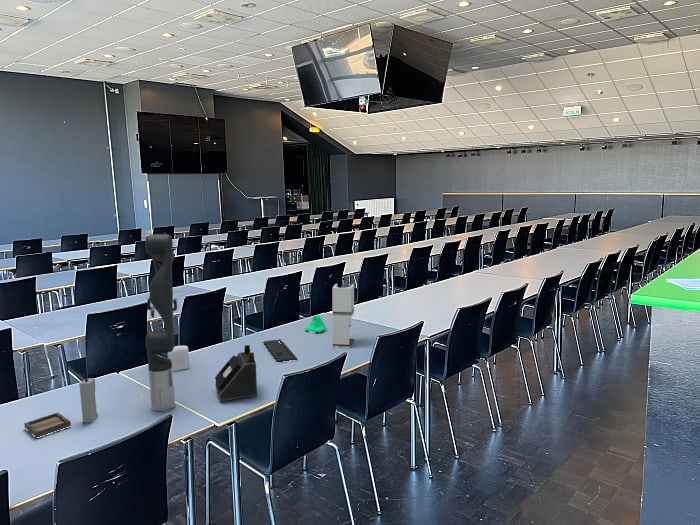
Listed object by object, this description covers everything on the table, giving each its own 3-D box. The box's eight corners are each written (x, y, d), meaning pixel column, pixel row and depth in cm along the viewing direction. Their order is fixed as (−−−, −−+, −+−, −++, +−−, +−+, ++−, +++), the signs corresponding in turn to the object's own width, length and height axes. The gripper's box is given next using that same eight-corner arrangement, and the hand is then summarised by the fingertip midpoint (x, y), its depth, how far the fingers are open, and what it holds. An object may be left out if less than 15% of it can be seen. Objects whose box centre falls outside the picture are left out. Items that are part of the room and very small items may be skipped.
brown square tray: (70, 427, 195) (70, 421, 195) (36, 439, 186) (35, 433, 186) (58, 418, 203) (57, 412, 203) (24, 429, 194) (24, 423, 193)
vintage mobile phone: (98, 417, 204) (93, 358, 200) (92, 423, 199) (87, 362, 195) (89, 417, 203) (83, 358, 199) (82, 423, 199) (77, 363, 195)
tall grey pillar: (351, 348, 287) (350, 288, 281) (332, 347, 289) (332, 287, 283) (354, 342, 298) (353, 284, 293) (336, 341, 300) (336, 283, 294)
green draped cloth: (303, 331, 319) (303, 316, 317) (310, 328, 326) (310, 313, 324) (319, 334, 313) (319, 318, 311) (326, 331, 320) (325, 315, 318)
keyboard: (297, 361, 268) (297, 357, 267) (277, 364, 264) (276, 360, 263) (281, 341, 300) (281, 338, 300) (262, 344, 296) (262, 341, 296)
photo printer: (188, 366, 260) (186, 343, 258) (190, 368, 256) (189, 345, 254) (167, 370, 254) (166, 346, 252) (169, 373, 251) (168, 349, 249)
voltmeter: (215, 389, 231) (213, 347, 227) (250, 384, 236) (249, 343, 233) (219, 404, 216) (217, 359, 213) (257, 398, 222) (255, 354, 218)
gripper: (146, 289, 248) (145, 319, 253) (176, 291, 251) (175, 320, 256) (149, 284, 255) (148, 314, 260) (178, 285, 258) (177, 315, 263)
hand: (162, 317), depth 258 cm, fingers open, 8 cm apart
